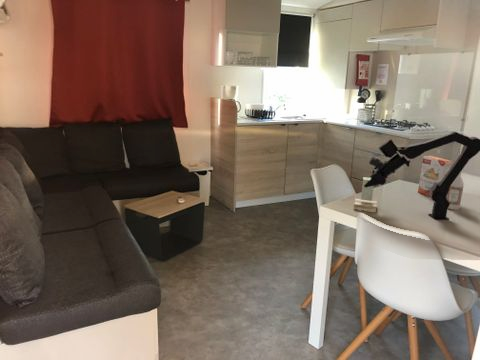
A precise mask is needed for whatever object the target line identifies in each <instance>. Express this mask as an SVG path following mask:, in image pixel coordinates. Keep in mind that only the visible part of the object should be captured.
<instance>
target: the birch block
mask: <svg viewBox="0 0 480 360" xmlns="http://www.w3.org/2000/svg"><path fill="white" fill-rule="evenodd" d="M377 203H378V200H372V201H367V200H361V198H355V200H354V204H353V210H355V209H360V210H359V211H362V210H364V212H370V213H371V212H372V213H376V212H377V206H378V205H377Z"/></svg>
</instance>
